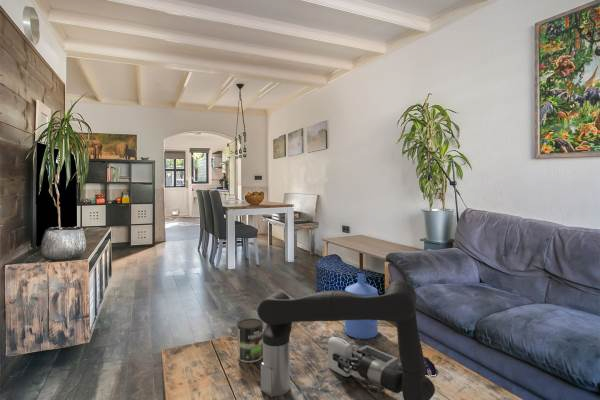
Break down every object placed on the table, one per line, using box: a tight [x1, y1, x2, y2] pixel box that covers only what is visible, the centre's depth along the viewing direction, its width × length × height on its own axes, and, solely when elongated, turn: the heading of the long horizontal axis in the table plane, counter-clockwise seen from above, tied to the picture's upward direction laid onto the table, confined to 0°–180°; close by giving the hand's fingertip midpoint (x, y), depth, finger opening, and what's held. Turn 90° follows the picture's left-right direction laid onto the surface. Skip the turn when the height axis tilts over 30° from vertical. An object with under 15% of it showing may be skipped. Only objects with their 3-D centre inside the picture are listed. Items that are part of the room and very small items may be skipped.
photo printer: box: [327, 336, 353, 377], centre depth 135 cm, size 10×4×12 cm, turn 39°
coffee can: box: [236, 318, 264, 364], centre depth 146 cm, size 10×10×14 cm
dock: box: [357, 345, 402, 370], centre depth 140 cm, size 12×17×4 cm
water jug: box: [343, 273, 379, 340], centre depth 168 cm, size 16×16×28 cm
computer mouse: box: [424, 356, 437, 376], centre depth 137 cm, size 9×15×4 cm, turn 3°
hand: (338, 353), depth 135 cm, fingers open, 5 cm apart
